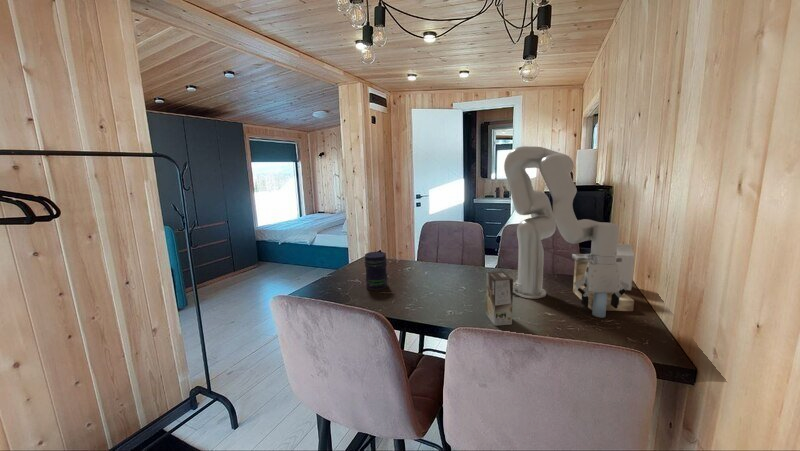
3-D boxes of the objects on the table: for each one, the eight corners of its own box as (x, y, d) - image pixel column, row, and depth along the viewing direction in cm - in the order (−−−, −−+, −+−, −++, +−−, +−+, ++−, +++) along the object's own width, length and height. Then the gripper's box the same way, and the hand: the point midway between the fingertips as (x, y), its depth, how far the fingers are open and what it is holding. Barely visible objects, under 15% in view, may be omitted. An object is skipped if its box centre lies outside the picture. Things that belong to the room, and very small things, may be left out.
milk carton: (631, 290, 137) (635, 246, 133) (612, 290, 138) (615, 245, 135) (623, 284, 143) (627, 242, 140) (605, 284, 145) (608, 241, 142)
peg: (595, 317, 115) (597, 290, 113) (590, 312, 119) (592, 285, 117) (607, 317, 114) (610, 290, 112) (602, 312, 118) (604, 286, 116)
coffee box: (512, 324, 111) (514, 279, 109) (494, 326, 111) (495, 280, 108) (502, 313, 120) (503, 270, 118) (485, 314, 120) (485, 271, 117)
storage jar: (389, 282, 157) (387, 251, 154) (386, 289, 147) (384, 257, 144) (368, 282, 158) (366, 251, 155) (364, 289, 148) (362, 257, 145)
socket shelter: (588, 309, 120) (591, 267, 118) (570, 290, 138) (572, 254, 136) (636, 311, 118) (640, 268, 115) (611, 291, 136) (614, 254, 133)
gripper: (580, 261, 110) (577, 310, 113) (637, 262, 108) (632, 311, 111) (572, 255, 118) (569, 301, 121) (625, 256, 115) (621, 302, 118)
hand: (599, 306), depth 116 cm, fingers open, 9 cm apart
